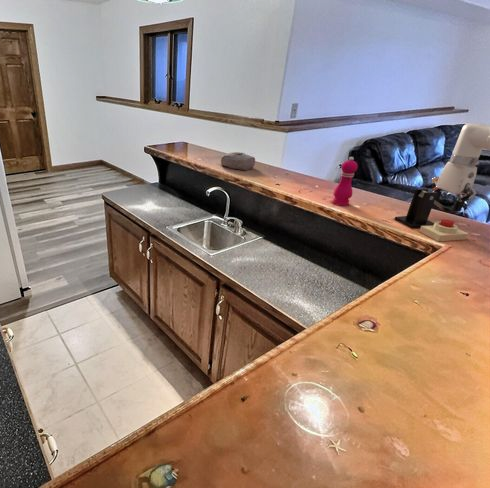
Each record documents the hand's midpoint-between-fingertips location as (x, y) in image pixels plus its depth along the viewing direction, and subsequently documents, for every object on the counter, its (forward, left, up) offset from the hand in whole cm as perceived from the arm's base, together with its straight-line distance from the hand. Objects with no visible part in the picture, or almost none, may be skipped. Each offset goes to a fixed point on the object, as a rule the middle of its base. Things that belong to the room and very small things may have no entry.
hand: (444, 206), depth 130 cm
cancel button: (+9, +11, -3) cm, 15 cm away
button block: (+9, +11, -6) cm, 16 cm away
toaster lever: (+6, 0, +1) cm, 6 cm away
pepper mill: (+25, -24, -6) cm, 35 cm away
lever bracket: (+10, 0, -6) cm, 12 cm away
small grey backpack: (+49, -91, -6) cm, 103 cm away
